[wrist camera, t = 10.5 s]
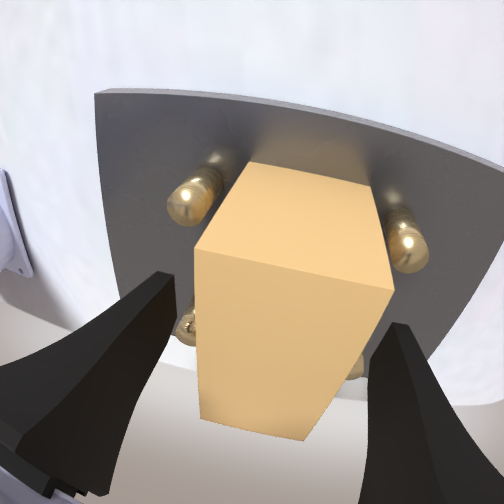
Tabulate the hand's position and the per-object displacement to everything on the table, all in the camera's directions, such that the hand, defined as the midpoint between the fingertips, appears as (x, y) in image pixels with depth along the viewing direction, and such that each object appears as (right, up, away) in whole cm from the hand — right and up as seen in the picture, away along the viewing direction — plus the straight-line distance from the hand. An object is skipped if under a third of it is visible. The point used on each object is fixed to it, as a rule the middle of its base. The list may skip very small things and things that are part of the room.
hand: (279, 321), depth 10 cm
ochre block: (+1, +2, +2) cm, 3 cm away
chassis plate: (+1, +2, +3) cm, 4 cm away
